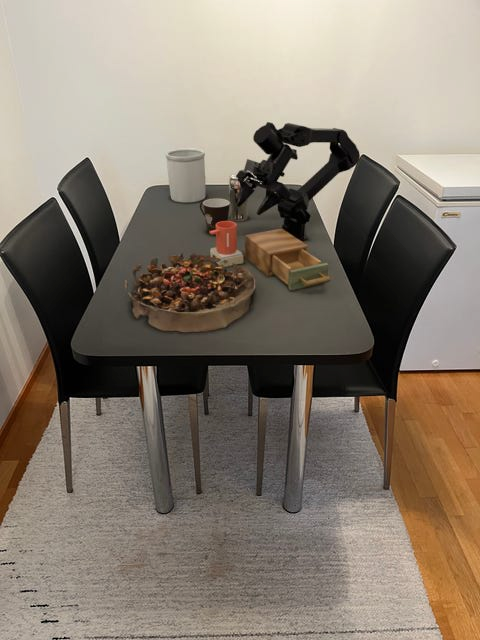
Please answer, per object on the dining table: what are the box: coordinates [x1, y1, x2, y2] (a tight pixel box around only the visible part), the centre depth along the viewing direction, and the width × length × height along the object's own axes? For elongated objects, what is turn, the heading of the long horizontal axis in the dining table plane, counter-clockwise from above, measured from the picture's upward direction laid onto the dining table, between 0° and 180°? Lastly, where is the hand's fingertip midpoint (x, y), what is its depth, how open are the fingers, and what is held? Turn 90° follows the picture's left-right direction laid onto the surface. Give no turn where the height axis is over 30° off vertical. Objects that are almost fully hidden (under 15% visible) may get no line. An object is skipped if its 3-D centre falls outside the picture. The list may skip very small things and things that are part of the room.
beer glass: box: [228, 172, 249, 222], centre depth 174 cm, size 7×7×15 cm
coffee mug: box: [199, 198, 231, 237], centre depth 165 cm, size 12×9×10 cm
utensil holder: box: [165, 147, 207, 204], centre depth 193 cm, size 15×15×18 cm
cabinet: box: [244, 228, 308, 277], centre depth 145 cm, size 14×12×7 cm
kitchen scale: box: [209, 246, 244, 268], centre depth 147 cm, size 7×8×3 cm
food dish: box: [124, 252, 257, 333], centre depth 128 cm, size 35×33×8 cm
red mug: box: [209, 220, 238, 255], centre depth 144 cm, size 8×6×8 cm
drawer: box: [270, 249, 331, 291], centre depth 134 cm, size 18×11×5 cm, turn 26°
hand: (247, 210), depth 145 cm, fingers open, 9 cm apart
